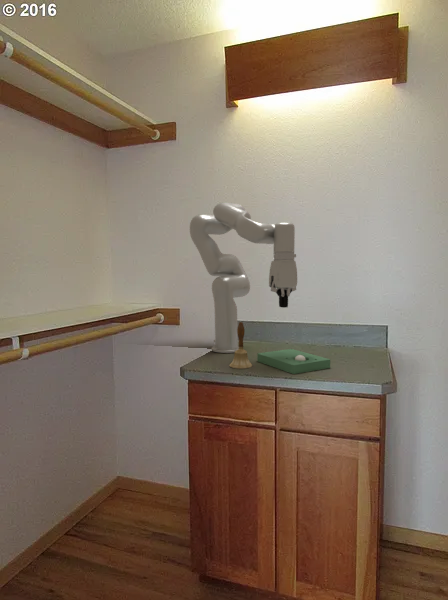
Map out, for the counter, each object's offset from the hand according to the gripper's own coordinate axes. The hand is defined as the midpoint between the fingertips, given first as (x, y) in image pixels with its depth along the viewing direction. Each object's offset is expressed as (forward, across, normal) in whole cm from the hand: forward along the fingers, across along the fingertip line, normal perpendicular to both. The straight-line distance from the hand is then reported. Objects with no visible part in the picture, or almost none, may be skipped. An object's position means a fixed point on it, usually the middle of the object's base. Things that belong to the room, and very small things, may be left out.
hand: (283, 307), depth 160 cm
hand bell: (+21, +17, -2) cm, 27 cm away
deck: (+20, 0, +6) cm, 21 cm away
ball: (+18, 0, +10) cm, 21 cm away
